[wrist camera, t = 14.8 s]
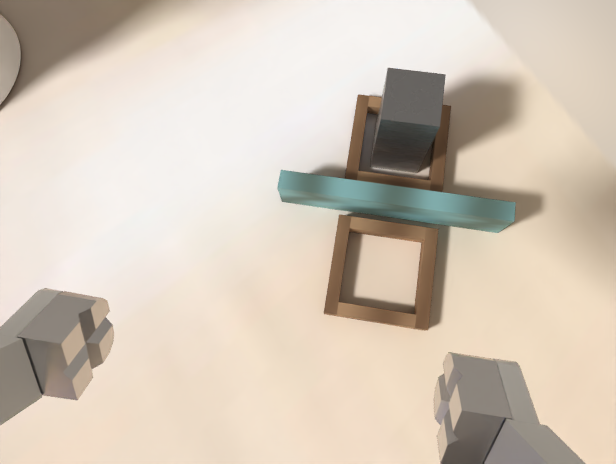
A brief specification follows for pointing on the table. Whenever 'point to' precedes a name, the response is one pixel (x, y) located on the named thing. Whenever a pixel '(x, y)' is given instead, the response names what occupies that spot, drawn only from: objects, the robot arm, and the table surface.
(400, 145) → the gray block
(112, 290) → the table surface
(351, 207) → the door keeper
